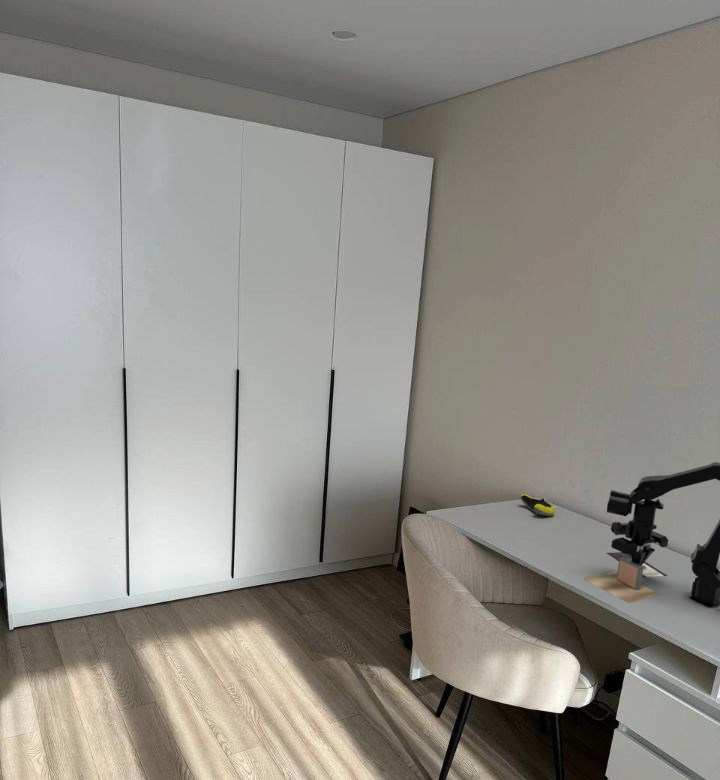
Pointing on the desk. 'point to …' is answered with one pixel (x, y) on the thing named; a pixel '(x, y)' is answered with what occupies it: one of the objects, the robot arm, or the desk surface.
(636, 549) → the robot arm
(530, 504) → the black and yellow shoe
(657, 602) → the desk surface
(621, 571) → the tile
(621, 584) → the mat
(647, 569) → the chocolate bar
